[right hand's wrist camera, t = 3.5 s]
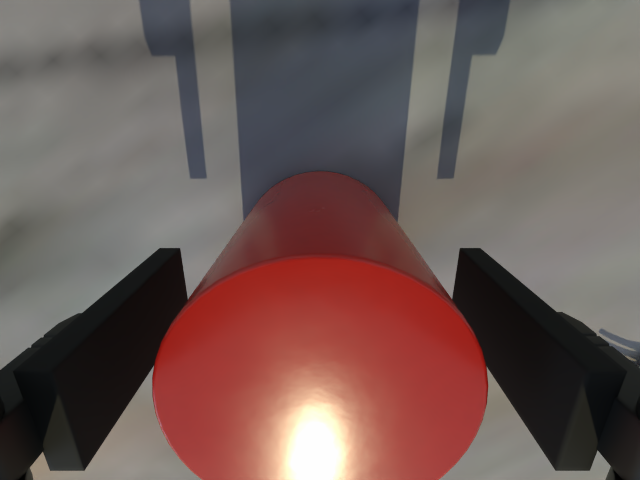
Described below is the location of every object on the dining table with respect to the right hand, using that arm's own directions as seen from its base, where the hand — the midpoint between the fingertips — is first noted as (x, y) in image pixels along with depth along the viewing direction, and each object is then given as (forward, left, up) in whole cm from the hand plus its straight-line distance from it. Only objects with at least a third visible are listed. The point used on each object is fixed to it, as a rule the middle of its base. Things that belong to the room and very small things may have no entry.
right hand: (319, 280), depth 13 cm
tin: (0, 0, -4) cm, 4 cm away
